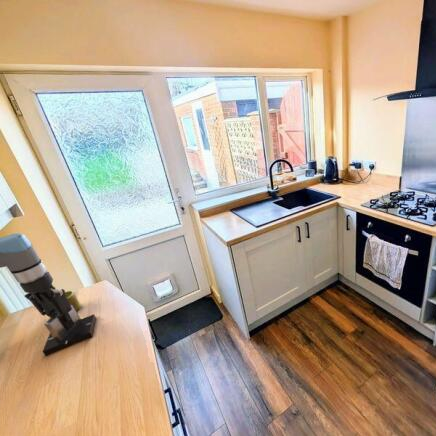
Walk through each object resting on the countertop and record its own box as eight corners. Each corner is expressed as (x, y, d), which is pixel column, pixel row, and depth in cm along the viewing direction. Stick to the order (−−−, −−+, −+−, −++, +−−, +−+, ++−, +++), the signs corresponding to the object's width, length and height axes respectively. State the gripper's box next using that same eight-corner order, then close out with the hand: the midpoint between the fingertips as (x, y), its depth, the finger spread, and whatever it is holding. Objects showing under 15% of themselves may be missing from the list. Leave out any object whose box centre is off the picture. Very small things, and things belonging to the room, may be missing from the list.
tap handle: (62, 341, 90) (49, 323, 86) (56, 341, 90) (43, 323, 86) (82, 321, 98) (71, 304, 94) (77, 321, 98) (66, 304, 94)
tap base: (44, 358, 87) (40, 353, 86) (55, 332, 97) (51, 328, 96) (92, 339, 93) (89, 334, 92) (97, 316, 103) (94, 312, 102)
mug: (84, 308, 106) (65, 292, 102) (59, 326, 102) (38, 310, 98) (89, 297, 116) (72, 282, 112) (66, 313, 113) (48, 298, 109)
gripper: (64, 269, 86) (93, 318, 96) (24, 271, 87) (57, 319, 97) (43, 283, 79) (77, 334, 89) (1, 285, 81) (39, 335, 90)
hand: (67, 326), depth 93 cm, fingers closed on tap handle, 2 cm apart
